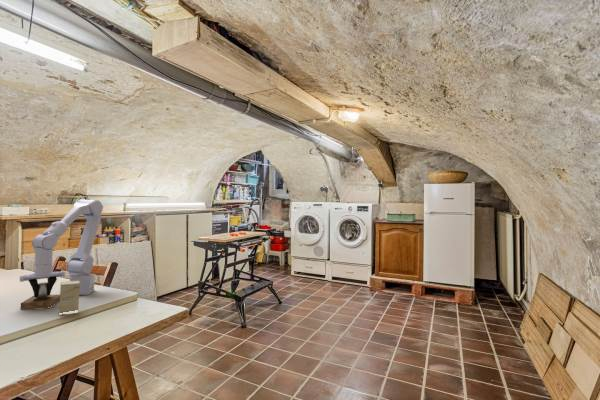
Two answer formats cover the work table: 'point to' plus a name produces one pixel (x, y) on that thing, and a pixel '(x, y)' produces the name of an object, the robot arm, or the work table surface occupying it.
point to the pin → (42, 291)
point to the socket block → (40, 302)
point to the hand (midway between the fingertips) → (42, 295)
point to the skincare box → (69, 296)
